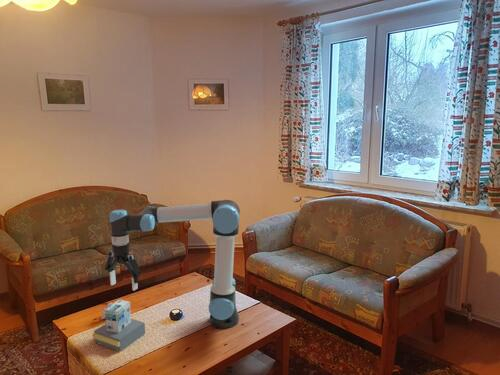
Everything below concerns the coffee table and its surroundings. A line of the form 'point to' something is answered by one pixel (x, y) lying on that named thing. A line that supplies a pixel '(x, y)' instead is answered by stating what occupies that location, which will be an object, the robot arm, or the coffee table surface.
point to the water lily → (105, 309)
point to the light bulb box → (118, 316)
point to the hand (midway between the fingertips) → (124, 286)
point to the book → (120, 335)
